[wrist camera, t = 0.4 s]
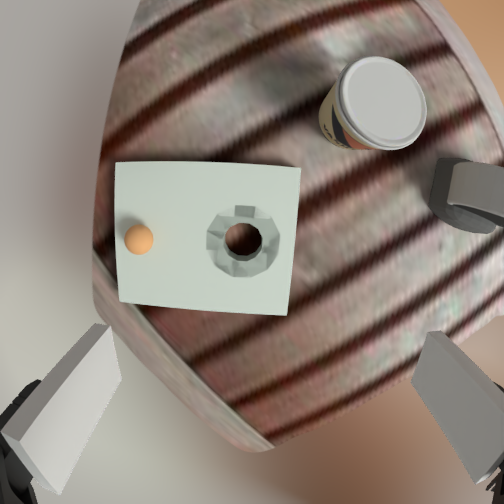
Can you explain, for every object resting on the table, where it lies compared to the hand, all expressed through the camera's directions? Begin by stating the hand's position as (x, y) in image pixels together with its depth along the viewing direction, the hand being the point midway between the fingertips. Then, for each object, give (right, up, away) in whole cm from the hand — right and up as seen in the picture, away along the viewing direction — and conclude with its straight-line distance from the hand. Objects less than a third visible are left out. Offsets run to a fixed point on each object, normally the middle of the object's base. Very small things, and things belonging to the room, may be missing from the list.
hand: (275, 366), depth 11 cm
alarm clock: (+31, +13, +25) cm, 41 cm away
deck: (-7, +6, +26) cm, 28 cm away
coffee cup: (+11, +21, +23) cm, 33 cm away
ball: (-14, +6, +22) cm, 26 cm away
